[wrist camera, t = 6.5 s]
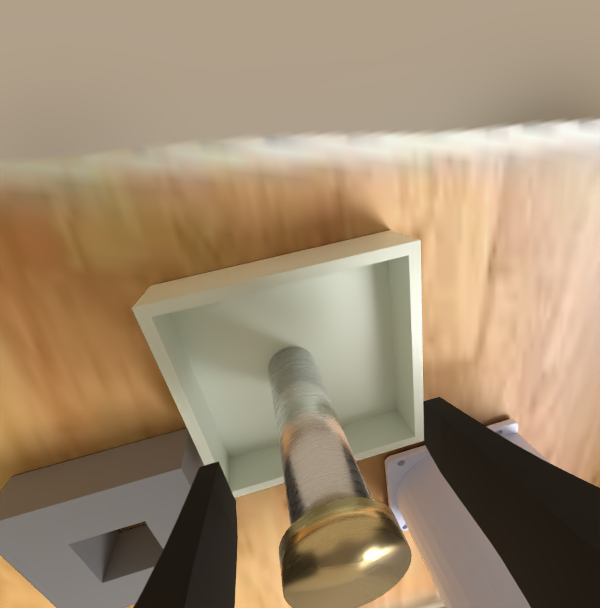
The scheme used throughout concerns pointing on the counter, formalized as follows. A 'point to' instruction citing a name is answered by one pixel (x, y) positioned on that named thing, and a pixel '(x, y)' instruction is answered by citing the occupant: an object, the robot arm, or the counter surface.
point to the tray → (293, 332)
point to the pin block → (97, 520)
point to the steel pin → (327, 499)
